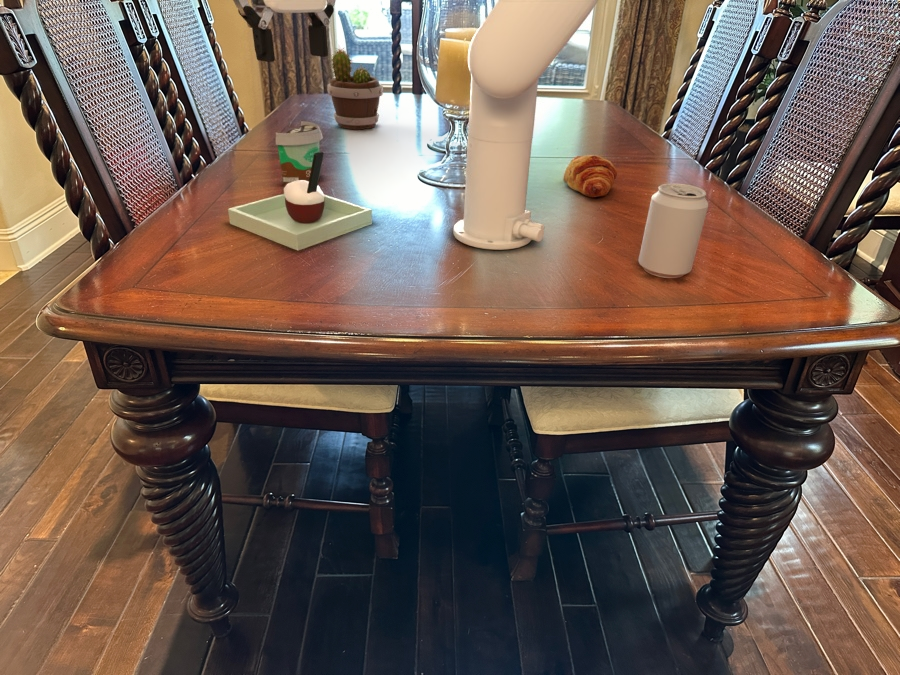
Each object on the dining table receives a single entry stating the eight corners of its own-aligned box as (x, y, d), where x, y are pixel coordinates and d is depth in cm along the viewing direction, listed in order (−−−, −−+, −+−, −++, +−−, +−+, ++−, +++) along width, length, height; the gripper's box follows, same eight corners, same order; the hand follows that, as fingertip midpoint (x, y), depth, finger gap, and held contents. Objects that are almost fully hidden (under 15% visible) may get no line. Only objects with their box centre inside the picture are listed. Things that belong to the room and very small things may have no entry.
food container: (310, 190, 114) (306, 136, 109) (280, 187, 115) (274, 133, 110) (334, 173, 125) (331, 122, 120) (306, 170, 126) (302, 120, 121)
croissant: (564, 187, 134) (551, 154, 130) (608, 168, 131) (596, 133, 128) (581, 218, 115) (566, 180, 112) (632, 195, 113) (618, 156, 109)
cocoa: (284, 213, 102) (276, 139, 96) (321, 210, 104) (316, 137, 98) (291, 232, 94) (283, 154, 88) (331, 229, 96) (326, 152, 90)
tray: (372, 224, 100) (371, 209, 99) (297, 250, 89) (296, 234, 88) (305, 201, 109) (303, 188, 108) (229, 223, 98) (227, 208, 97)
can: (660, 283, 84) (680, 199, 78) (626, 263, 90) (642, 182, 84) (702, 276, 87) (724, 193, 81) (666, 256, 93) (684, 178, 87)
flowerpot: (385, 121, 172) (383, 42, 162) (382, 132, 159) (380, 48, 149) (333, 119, 172) (328, 40, 161) (325, 131, 158) (320, 46, 148)
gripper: (240, -95, 70) (260, 65, 79) (348, -83, 82) (355, 56, 91) (202, -93, 74) (225, 60, 83) (310, -81, 86) (321, 52, 95)
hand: (293, 58), depth 87 cm, fingers open, 9 cm apart
